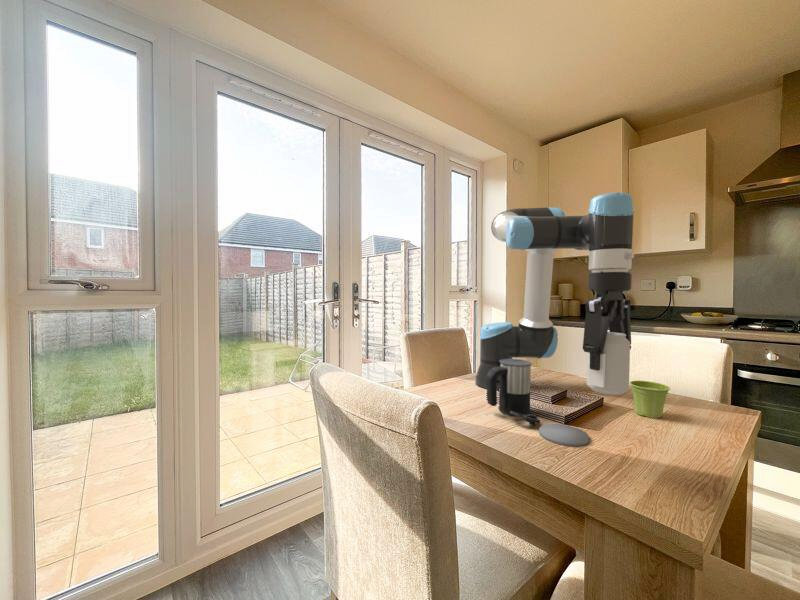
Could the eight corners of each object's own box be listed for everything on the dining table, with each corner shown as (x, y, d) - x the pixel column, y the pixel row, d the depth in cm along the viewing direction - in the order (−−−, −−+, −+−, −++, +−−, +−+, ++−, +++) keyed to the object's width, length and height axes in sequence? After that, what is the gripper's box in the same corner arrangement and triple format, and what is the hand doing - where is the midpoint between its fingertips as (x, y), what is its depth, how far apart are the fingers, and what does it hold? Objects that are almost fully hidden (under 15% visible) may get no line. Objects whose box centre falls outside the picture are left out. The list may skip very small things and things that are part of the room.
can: (633, 390, 70) (634, 332, 70) (623, 398, 65) (625, 336, 65) (592, 383, 76) (593, 329, 75) (581, 390, 70) (582, 332, 70)
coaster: (530, 433, 85) (530, 429, 85) (556, 423, 91) (556, 420, 91) (572, 450, 76) (572, 447, 76) (598, 438, 82) (598, 435, 82)
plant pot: (655, 409, 102) (656, 380, 102) (677, 421, 92) (678, 390, 92) (622, 408, 103) (622, 380, 102) (641, 420, 93) (641, 389, 93)
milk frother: (511, 403, 107) (511, 357, 107) (559, 419, 94) (560, 366, 94) (481, 413, 99) (481, 362, 98) (529, 431, 86) (530, 373, 86)
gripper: (603, 269, 61) (600, 395, 62) (652, 272, 72) (649, 379, 73) (563, 271, 67) (561, 385, 68) (614, 273, 78) (612, 372, 79)
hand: (607, 382), depth 70 cm, fingers closed on can, 7 cm apart
